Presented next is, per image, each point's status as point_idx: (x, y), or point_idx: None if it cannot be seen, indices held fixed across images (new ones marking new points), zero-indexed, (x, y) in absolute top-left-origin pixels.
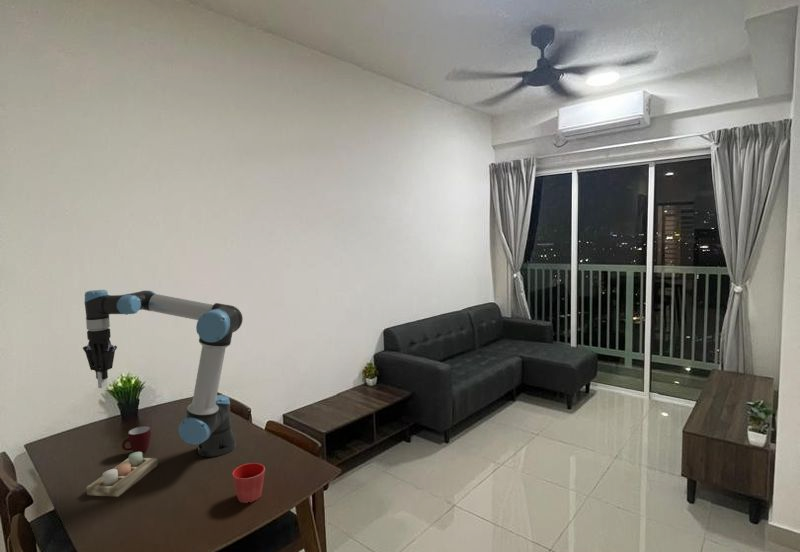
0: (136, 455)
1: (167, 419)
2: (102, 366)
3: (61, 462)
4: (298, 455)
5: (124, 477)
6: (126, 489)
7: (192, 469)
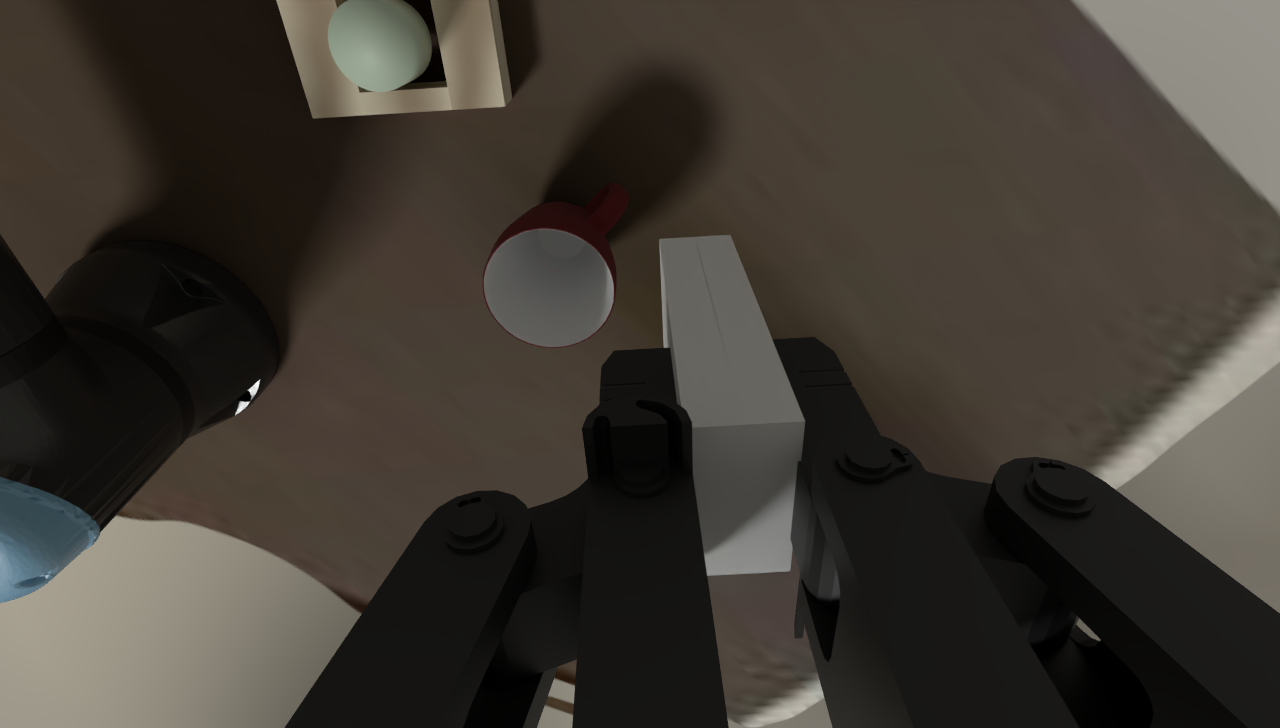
0: (351, 33)
1: None
2: (612, 593)
3: (967, 62)
4: None
5: None
6: None
7: (79, 96)
